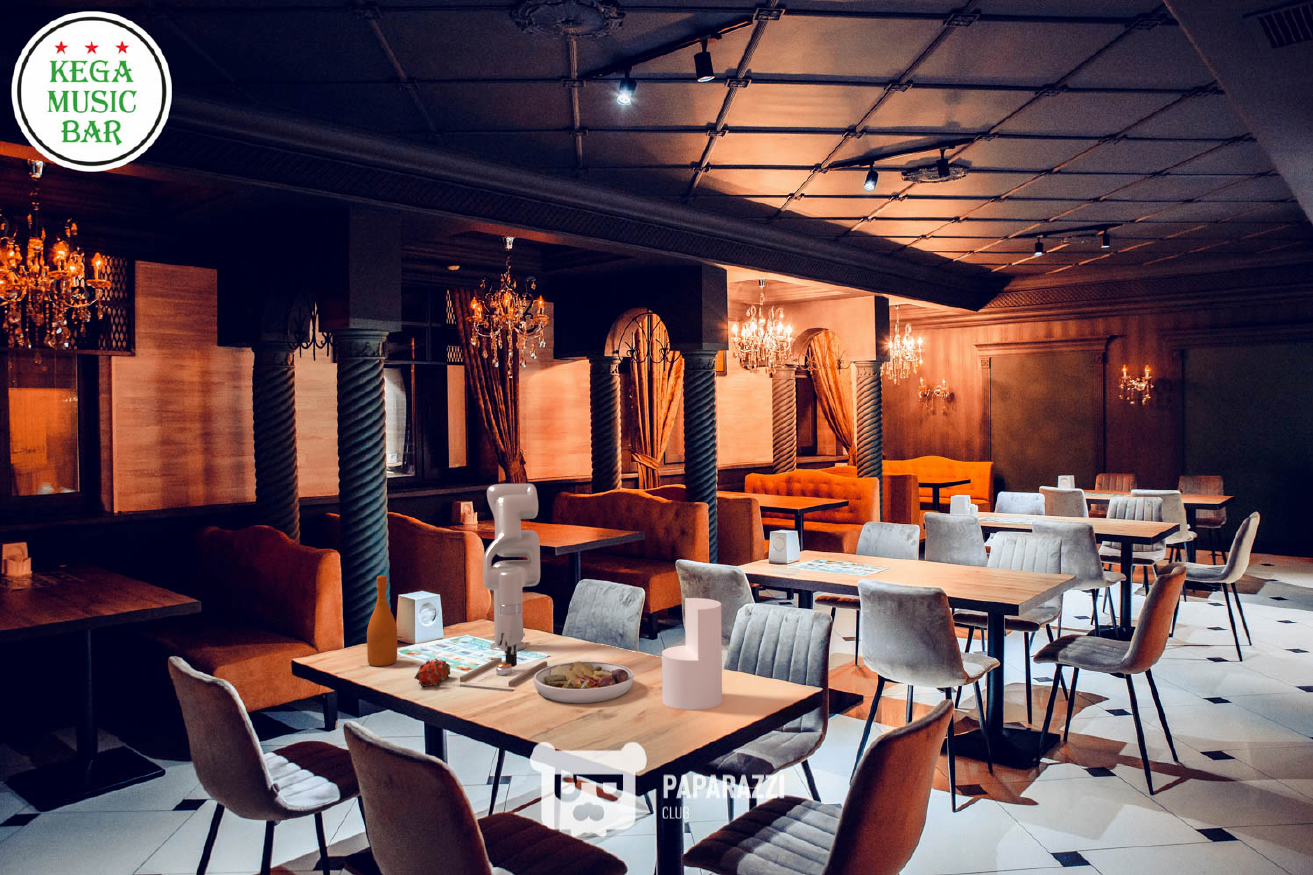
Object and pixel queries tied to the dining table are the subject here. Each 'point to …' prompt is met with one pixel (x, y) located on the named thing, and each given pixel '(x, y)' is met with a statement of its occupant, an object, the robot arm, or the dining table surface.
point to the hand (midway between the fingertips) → (511, 665)
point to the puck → (504, 669)
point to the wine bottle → (382, 630)
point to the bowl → (583, 681)
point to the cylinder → (695, 660)
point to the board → (518, 673)
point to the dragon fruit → (433, 673)
